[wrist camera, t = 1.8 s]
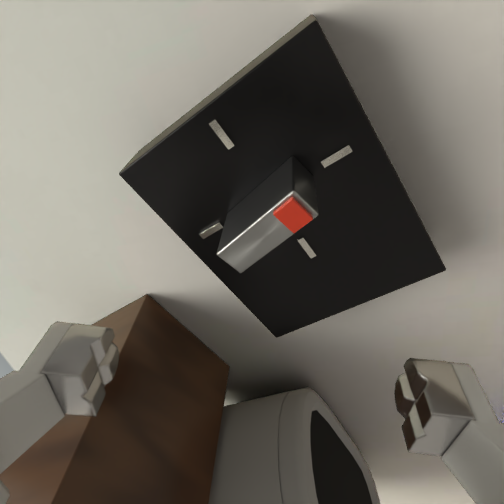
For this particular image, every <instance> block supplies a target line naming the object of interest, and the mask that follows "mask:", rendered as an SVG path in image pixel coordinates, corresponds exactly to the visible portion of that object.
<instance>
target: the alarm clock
mask: <svg viewBox="0 0 504 504" xmlns="http://www.w3.org/2000/svg"><path fill="white" fill-rule="evenodd" d="M208 504H380V500H379V497H378V493H377V490H376V486H375V483H374V480H373V478H372V475H371V472H370V470H369V467H368V465H367V463H366V461H365V460H364V458H363V456H362V454H361V453H360V451H359V449H358V448H357V446H356V445H355V444H354V442H353V441H352V439H351V438H350V437H349V435H348V434H347V432H346V431H345V429H344V428H343V427H342V425H341V424H340V422H339V421H338V420H337V418H336V417H335V415H334V414H333V412H332V411H331V410H330V408H329V407H328V405H327V404H326V403H325V402H324V401H323V400H322V399H321V397H320V396H319V395H318V394H317V393H316V392H315V391H314V390H313V389H311V387H306V388H301V389H297V390H292V391H288V392H284V393H279V394H275V395H270V396H266V397H261V398H257V399H252V400H248V401H243V402H239V403H236V404H232V405H228V406H224V407H223V413H222V419H221V425H220V432H219V438H218V445H217V451H216V458H215V464H214V470H213V477H212V483H211V490H210V496H209V503H208Z"/></svg>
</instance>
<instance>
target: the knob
mask: <svg viewBox="0 0 504 504" xmlns="http://www.w3.org/2000/svg"><path fill="white" fill-rule="evenodd" d="M317 216H318V207H317V199H316V191H315V183H314V177H313V176H312V175H311V173H310V172H309V171H308V170H307V169H306V168H305V167H304V166H303V165H302V164H301V163H300V162H299V161H298V160H297V159H296V158H295V157H294V156H292V157H290V158H289V159H288V160H287V161H286V162H285V163H284V164H282V165H281V166H280V167H279V168H278V169H277V170H276V171H275V172H273V173H272V174H271V175H270V176H269V177H268V178H267V179H266V180H265V181H263V182H262V183H261V184H260V185H259V186H258V187H257V188H256V189H254V190H253V191H252V192H251V193H250V194H249V195H248V196H247V197H245V198H244V199H243V200H242V201H241V202H240V203H239V204H238V205H236V206H235V207H234V208H233V209H232V210H231V211H230V212H229V213H228V214H227V217H226V221H225V224H224V228H223V232H222V235H221V239H220V243H219V247H218V250H217V255H218V256H219V257H220V258H221V259H223V260H224V261H225V262H226V263H228V264H229V265H230V266H231V267H233V268H234V269H235V270H237V271H238V272H239V273H242V272H244V271H245V270H246V269H248V268H249V267H250V266H252V265H253V264H254V263H256V262H257V261H258V260H260V259H261V258H262V257H264V256H265V255H266V254H268V253H269V252H270V251H272V250H273V249H274V248H276V247H277V246H278V245H280V244H281V243H282V242H284V241H285V240H286V239H288V238H289V237H290V236H292V235H293V234H294V233H296V232H297V231H298V230H300V229H301V228H302V227H304V226H305V225H306V224H308V223H309V222H310V221H312V220H313V219H314V218H316V217H317Z"/></svg>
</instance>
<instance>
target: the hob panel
mask: <svg viewBox="0 0 504 504" xmlns="http://www.w3.org/2000/svg"><path fill="white" fill-rule="evenodd" d="M292 156H294V157H295V158H296V159H297V160H298V161H299V162H300V163H301V164H302V165H303V166H304V167H305V168H306V169H307V170H308V171H309V172H310V173H311V175H312V176H313V177H314V183H315V191H316V199H317V207H318V216H317V217H316V218H314V219H313V220H312V221H310V222H309V223H308V224H306V225H305V226H304V227H302V228H301V229H300V230H298V231H297V232H296V233H294V234H293V235H292V236H290V237H289V238H288V239H286V240H285V241H284V242H282V243H281V244H280V245H278V246H277V247H276V248H274V249H273V250H272V251H270V252H269V253H268V254H266V255H265V256H264V257H262V258H261V259H260V260H258V261H257V262H256V263H254V264H253V265H252V266H250V267H249V268H248V269H246V270H245V271H244V272H242V273H239V272H238V271H237V270H235V269H234V268H233V267H231V266H230V265H229V264H228V263H226V262H225V261H224V260H223V259H221V258H220V257H219V256H218V255H217V250H218V247H219V243H220V239H221V235H222V232H223V228H224V224H225V221H226V217H227V214H228V213H229V212H230V211H231V210H232V209H233V208H234V207H235V206H236V205H238V204H239V203H240V202H241V201H242V200H243V199H244V198H245V197H247V196H248V195H249V194H250V193H251V192H252V191H253V190H254V189H256V188H257V187H258V186H259V185H260V184H261V183H262V182H263V181H265V180H266V179H267V178H268V177H269V176H270V175H271V174H272V173H273V172H275V171H276V170H277V169H278V168H279V167H280V166H281V165H282V164H284V163H285V162H286V161H287V160H288V159H289V158H290V157H292ZM119 175H120V176H121V177H122V178H123V179H124V180H125V181H126V182H127V183H128V184H129V185H130V186H131V187H132V188H133V189H134V190H135V191H136V192H137V193H138V195H139V196H140V197H141V198H142V199H143V200H144V201H145V202H146V203H147V204H148V205H149V206H150V207H151V208H152V209H153V210H154V211H155V212H156V213H157V214H158V215H159V216H160V217H161V218H162V219H163V220H164V222H165V223H166V224H167V225H168V226H169V227H170V228H171V229H172V230H173V231H174V232H175V233H176V234H177V235H178V236H179V237H180V238H181V239H182V240H183V241H184V242H185V243H186V244H187V245H188V246H189V247H190V249H191V250H192V251H193V252H194V253H195V254H196V255H197V256H198V257H199V258H200V259H201V260H202V261H203V262H204V263H205V264H206V265H207V266H208V267H209V268H210V269H211V270H212V271H213V272H214V273H215V274H216V276H217V277H218V278H219V279H220V280H221V281H222V282H223V283H224V284H225V285H226V286H227V287H228V288H229V289H230V290H231V291H232V292H233V293H234V294H235V295H236V296H237V297H238V298H239V299H240V300H241V301H242V303H243V304H244V305H245V306H246V307H247V308H248V309H249V310H250V311H251V312H252V313H253V314H254V315H255V316H256V317H257V318H258V319H259V320H260V321H261V322H262V323H263V324H264V325H265V326H266V327H267V328H268V330H269V331H270V332H271V333H272V334H273V335H274V336H275V337H279V336H282V335H284V334H287V333H289V332H292V331H294V330H297V329H299V328H302V327H305V326H307V325H310V324H312V323H315V322H317V321H320V320H322V319H325V318H327V317H330V316H332V315H335V314H337V313H340V312H342V311H345V310H347V309H350V308H352V307H355V306H357V305H360V304H362V303H365V302H367V301H370V300H372V299H375V298H377V297H380V296H383V295H385V294H388V293H390V292H393V291H395V290H398V289H400V288H403V287H405V286H408V285H410V284H413V283H415V282H418V281H420V280H423V279H425V278H428V277H430V276H433V275H435V274H438V273H440V272H443V271H445V270H446V268H445V266H444V264H443V262H442V260H441V258H440V256H439V254H438V252H437V250H436V248H435V246H434V245H433V243H432V241H431V239H430V237H429V235H428V233H427V231H426V229H425V227H424V225H423V223H422V221H421V220H420V218H419V216H418V214H417V212H416V210H415V208H414V206H413V204H412V202H411V200H410V198H409V196H408V194H407V193H406V191H405V189H404V187H403V185H402V183H401V181H400V179H399V177H398V175H397V173H396V171H395V169H394V168H393V166H392V164H391V162H390V160H389V158H388V156H387V154H386V152H385V150H384V148H383V146H382V144H381V142H380V141H379V139H378V137H377V135H376V133H375V131H374V129H373V127H372V125H371V123H370V121H369V119H368V117H367V116H366V114H365V112H364V110H363V108H362V106H361V104H360V102H359V100H358V98H357V96H356V94H355V92H354V90H353V89H352V87H351V85H350V83H349V81H348V79H347V77H346V75H345V73H344V71H343V69H342V67H341V65H340V64H339V62H338V60H337V58H336V56H335V54H334V52H333V50H332V48H331V46H330V44H329V42H328V40H327V38H326V37H325V35H324V33H323V31H322V29H321V27H320V25H319V23H318V21H317V20H316V18H315V17H314V16H313V15H310V16H309V17H307V18H306V19H305V20H303V21H302V22H301V23H300V24H298V25H297V26H296V27H295V28H293V29H292V30H291V31H290V32H288V33H287V34H286V35H285V36H283V37H282V38H281V39H280V40H278V41H277V42H276V43H274V44H273V45H272V46H271V47H269V48H268V49H267V50H266V51H264V52H263V53H262V54H261V55H259V56H258V57H257V58H256V59H254V60H253V61H252V62H250V63H249V64H248V65H247V66H245V67H244V68H243V69H242V70H240V71H239V72H238V73H237V74H235V75H234V76H233V77H232V78H230V79H229V80H228V81H227V82H225V83H224V84H223V85H221V86H220V87H219V88H218V89H216V90H215V91H214V92H213V93H211V94H210V95H209V96H208V97H206V98H205V99H204V100H203V101H201V102H200V103H199V104H198V105H196V106H195V107H194V108H192V109H191V110H190V111H189V112H187V113H186V114H185V115H184V116H182V117H181V118H180V119H179V120H177V121H176V122H175V123H174V124H172V125H171V126H170V127H168V128H167V129H166V130H165V131H163V132H162V133H161V134H160V135H158V136H157V137H156V138H155V139H153V140H152V141H151V142H150V143H148V144H147V145H146V146H145V147H143V148H142V149H141V150H139V151H138V153H137V154H136V155H135V156H134V157H133V158H132V159H131V160H130V161H129V163H128V164H127V165H126V166H125V167H124V168H123V169H122V170H121V172H120V173H119Z"/></svg>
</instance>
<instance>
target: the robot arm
mask: <svg viewBox="0 0 504 504" xmlns="http://www.w3.org/2000/svg"><path fill="white" fill-rule="evenodd" d="M114 337H115V335H114V332H113V329H112V328H106V327H99V326H91V325H83V324H76V323H67V322H58V321H57V322H55V323H54V324H53V325H51V326H50V328H49V329H48V331H47V332H46V333H45V335H44V336H43V338H42V339H41V340H40V342H39V343H38V345H37V346H36V348H35V349H34V350H33V352H32V353H31V355H30V356H29V357H28V359H27V360H26V362H25V363H24V364H23V366H22V367H21V369H20V370H19V371H12V372H11V373H9V374H7V375H6V376H4V377H2V378H1V379H0V474H1V473H2V472H3V471H4V470H5V469H7V468H8V467H9V466H10V465H11V464H12V463H13V462H14V461H15V460H17V459H18V458H19V457H20V456H21V455H22V454H23V453H24V452H26V451H27V450H28V449H29V448H30V447H31V446H32V445H33V444H34V443H36V442H37V441H38V440H39V439H40V438H41V437H42V436H43V435H44V434H46V433H47V432H48V431H49V430H50V429H51V428H52V427H53V426H54V425H56V424H57V423H58V422H59V421H60V420H61V419H62V418H63V417H65V415H64V414H66V415H79V416H91V417H96V416H97V413H98V411H99V409H100V407H101V405H102V402H103V400H104V398H105V396H106V392H105V388H104V386H105V385H106V384H108V383H109V382H110V381H112V380H113V378H114V376H115V373H116V371H117V367H118V362H119V350H118V347H117V346H116V345H115V344H114V343H113V342H112V341H113V339H114ZM404 369H405V373H403V374H402V375H400V376H399V377H398V379H397V381H396V383H395V393H394V394H395V402H396V407H397V411H398V412H399V413H400V414H401V415H402V416H403V417H404V418H405V421H404V423H403V425H402V430H403V434H404V438H405V442H406V446H407V450H408V452H413V453H420V454H427V455H434V456H441V459H442V460H443V462H444V463H445V464H446V466H447V467H448V468H449V469H450V471H451V472H452V473H453V475H454V476H455V477H456V479H457V480H458V481H459V482H460V484H461V485H462V486H463V488H464V489H465V490H466V491H467V493H468V494H469V495H470V497H471V498H472V499H473V501H474V502H475V503H476V504H504V424H502V423H499V422H498V420H497V417H496V415H495V413H494V411H493V409H492V407H491V405H490V403H489V401H488V399H487V397H486V395H485V393H484V391H483V389H482V387H481V385H480V383H479V381H478V379H477V376H476V374H475V372H474V370H473V368H472V367H471V366H470V365H469V364H465V363H454V362H446V361H438V360H427V359H415V358H410V359H408V360H407V361H406V363H405V365H404ZM9 496H10V493H9V489H8V488H7V487H6V486H5V485H4V483H3V482H2V481H1V480H0V504H6V502H7V500H8V498H9Z"/></svg>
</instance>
